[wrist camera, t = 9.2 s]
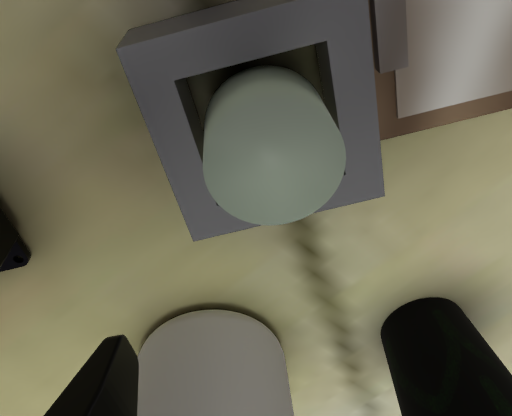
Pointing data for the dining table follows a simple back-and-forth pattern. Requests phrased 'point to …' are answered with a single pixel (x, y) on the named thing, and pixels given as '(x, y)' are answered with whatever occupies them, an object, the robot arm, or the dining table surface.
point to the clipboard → (439, 61)
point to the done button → (271, 147)
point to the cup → (443, 363)
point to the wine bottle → (213, 368)
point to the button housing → (242, 50)
